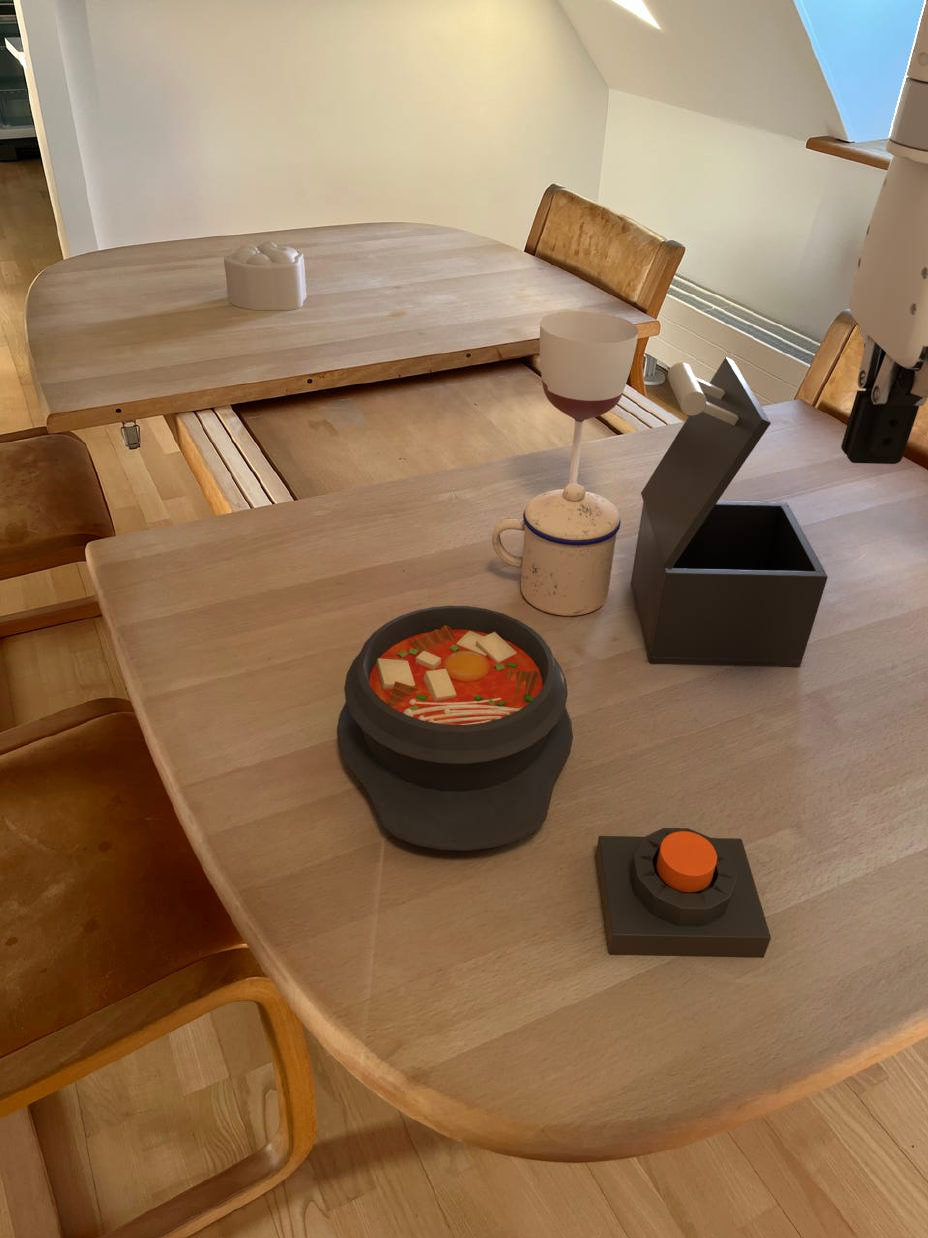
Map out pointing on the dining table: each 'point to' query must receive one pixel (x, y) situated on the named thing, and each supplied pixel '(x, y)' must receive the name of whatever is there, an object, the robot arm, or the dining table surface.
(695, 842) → the button
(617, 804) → the dining table surface
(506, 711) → the casserole
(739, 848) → the control block
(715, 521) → the grey hinged-lid box
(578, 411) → the wineglass
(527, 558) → the teacup with lid
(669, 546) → the lid
